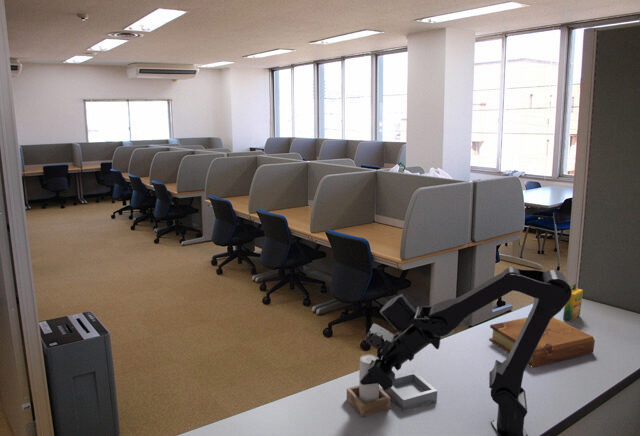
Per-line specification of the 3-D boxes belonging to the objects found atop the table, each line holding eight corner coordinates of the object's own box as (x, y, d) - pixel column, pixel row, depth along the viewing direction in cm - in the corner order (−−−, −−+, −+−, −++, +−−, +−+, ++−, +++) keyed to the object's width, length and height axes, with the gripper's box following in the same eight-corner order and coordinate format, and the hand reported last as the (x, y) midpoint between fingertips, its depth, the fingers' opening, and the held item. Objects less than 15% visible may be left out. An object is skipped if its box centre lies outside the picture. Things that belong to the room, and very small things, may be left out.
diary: (533, 370, 142) (535, 351, 140) (488, 341, 159) (490, 324, 157) (593, 354, 150) (595, 337, 149) (544, 329, 167) (546, 313, 165)
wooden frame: (390, 408, 123) (390, 397, 123) (361, 416, 120) (361, 405, 119) (374, 391, 130) (374, 381, 130) (346, 399, 127) (346, 388, 127)
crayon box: (571, 321, 171) (575, 289, 168) (562, 319, 173) (566, 287, 171) (580, 315, 176) (584, 284, 173) (571, 313, 178) (575, 282, 175)
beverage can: (366, 394, 128) (366, 352, 126) (382, 401, 125) (383, 357, 123) (355, 403, 125) (355, 359, 122) (371, 410, 122) (372, 365, 119)
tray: (436, 401, 126) (437, 390, 125) (403, 411, 122) (403, 400, 122) (414, 381, 135) (414, 371, 134) (382, 389, 131) (382, 379, 130)
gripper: (393, 302, 127) (351, 337, 133) (377, 334, 110) (330, 372, 116) (423, 335, 127) (379, 368, 132) (412, 372, 109) (363, 408, 115)
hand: (363, 377), depth 124 cm, fingers closed on beverage can, 5 cm apart
